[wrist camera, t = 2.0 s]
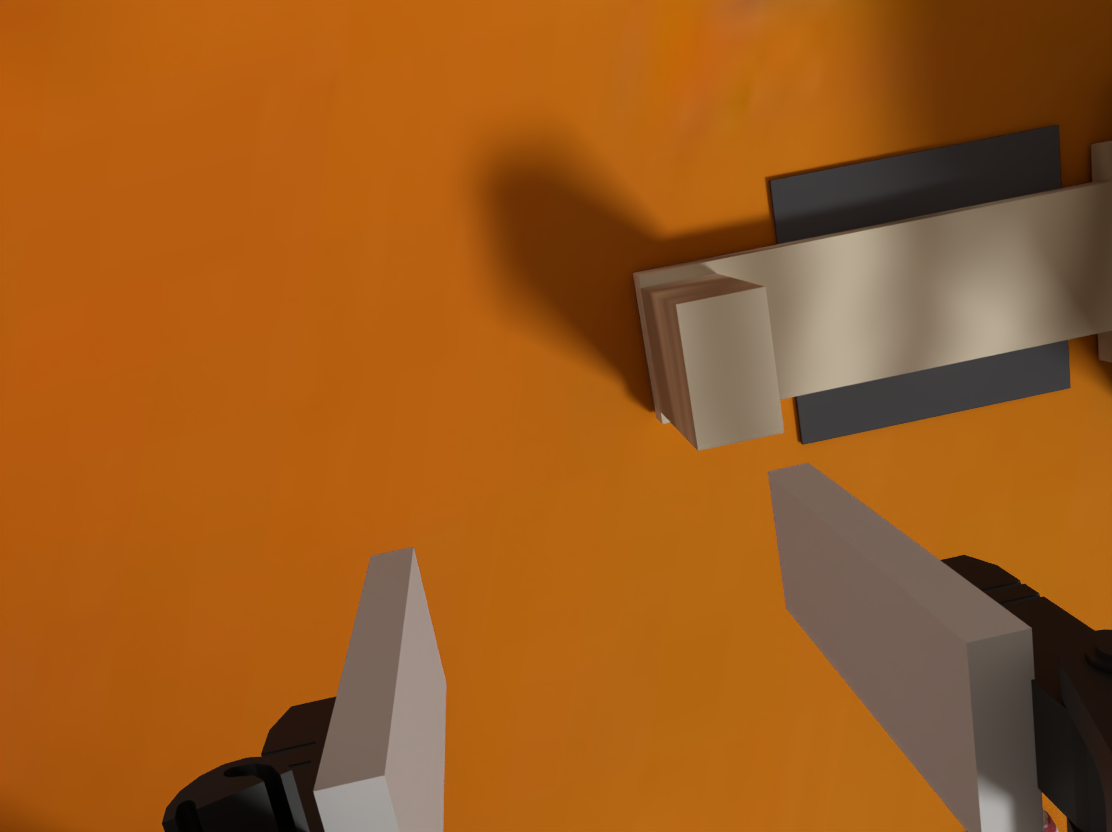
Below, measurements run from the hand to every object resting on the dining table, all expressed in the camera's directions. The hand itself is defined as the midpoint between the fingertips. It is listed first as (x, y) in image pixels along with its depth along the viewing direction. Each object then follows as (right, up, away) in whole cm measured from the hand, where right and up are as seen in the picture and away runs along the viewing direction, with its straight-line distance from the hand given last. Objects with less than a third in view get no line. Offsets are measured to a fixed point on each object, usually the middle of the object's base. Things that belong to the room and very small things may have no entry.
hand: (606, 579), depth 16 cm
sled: (+12, +8, +21) cm, 26 cm away
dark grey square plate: (+14, +8, +21) cm, 27 cm away
